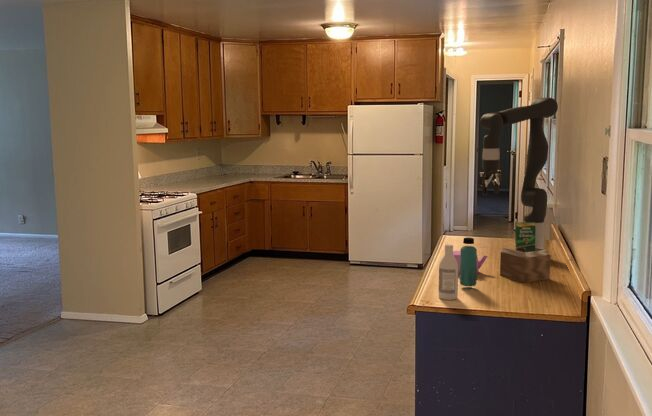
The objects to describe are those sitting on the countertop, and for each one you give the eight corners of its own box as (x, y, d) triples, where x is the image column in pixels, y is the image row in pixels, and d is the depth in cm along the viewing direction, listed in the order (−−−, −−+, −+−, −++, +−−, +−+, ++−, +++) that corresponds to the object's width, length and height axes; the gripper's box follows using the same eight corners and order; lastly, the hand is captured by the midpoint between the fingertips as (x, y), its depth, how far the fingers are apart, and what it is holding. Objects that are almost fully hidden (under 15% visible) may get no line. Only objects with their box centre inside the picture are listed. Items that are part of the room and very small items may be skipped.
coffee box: (514, 253, 264) (516, 222, 262) (514, 252, 267) (515, 221, 265) (535, 254, 262) (536, 223, 261) (534, 253, 265) (535, 222, 263)
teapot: (486, 270, 278) (486, 247, 277) (487, 276, 268) (488, 252, 267) (444, 269, 281) (444, 246, 280) (444, 274, 271) (444, 251, 270)
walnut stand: (525, 271, 275) (526, 244, 274) (549, 278, 263) (550, 250, 261) (499, 275, 269) (500, 247, 268) (522, 282, 257) (524, 253, 255)
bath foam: (444, 294, 241) (445, 242, 238) (460, 297, 236) (462, 244, 233) (434, 298, 235) (435, 245, 233) (451, 301, 231) (452, 247, 228)
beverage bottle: (476, 290, 245) (478, 239, 243) (459, 289, 247) (460, 239, 244) (476, 286, 252) (477, 236, 249) (459, 285, 253) (460, 236, 250)
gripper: (488, 159, 279) (487, 196, 281) (507, 157, 288) (506, 193, 290) (474, 159, 285) (473, 195, 287) (493, 157, 294) (493, 192, 296)
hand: (490, 194), depth 289 cm, fingers open, 8 cm apart
